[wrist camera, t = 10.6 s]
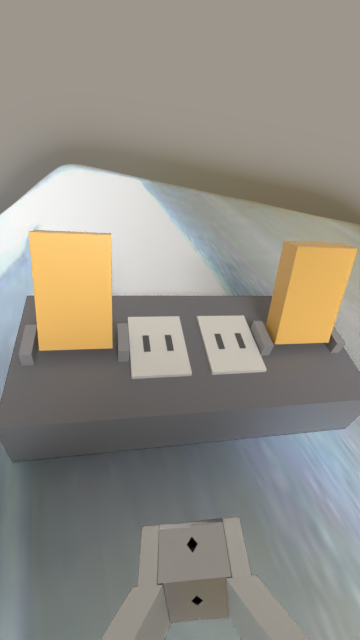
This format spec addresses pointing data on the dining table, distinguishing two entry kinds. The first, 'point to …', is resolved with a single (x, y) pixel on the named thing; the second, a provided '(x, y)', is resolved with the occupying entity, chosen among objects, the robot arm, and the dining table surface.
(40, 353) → the power box
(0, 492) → the dining table surface
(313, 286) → the switch
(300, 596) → the dining table surface
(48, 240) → the switch
